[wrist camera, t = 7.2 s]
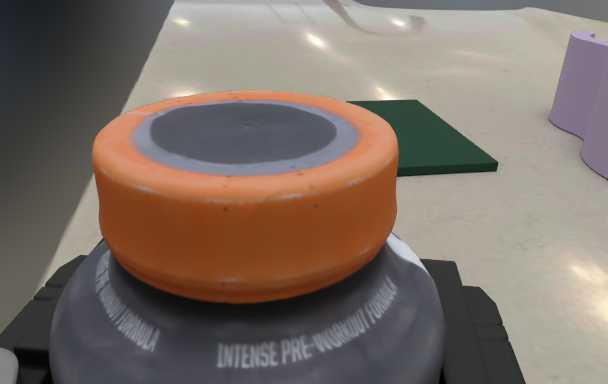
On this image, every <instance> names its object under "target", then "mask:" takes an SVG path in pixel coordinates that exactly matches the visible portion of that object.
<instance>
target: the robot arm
mask: <svg viewBox="0 0 608 384" xmlns="http://www.w3.org/2000/svg"><path fill="white" fill-rule="evenodd" d="M103 241H105V239H104V237H103V238H102V240H101V241H100V242H99V243H98V245H100V244H101V243H102V242H103ZM98 245H97V246H98ZM97 246H96V247H97ZM96 247H95V248H96ZM95 248H94V249H95ZM94 249H93V250H94ZM86 257H87V255H80V256H78V257H76V258H75V259H73V260H71V261H70V262H68V263H66V264H65V265H63V266H61V267H60V268H59V269H58V270H57V271H56V272H55V273H54V274H53V275H52V277H51V278H50V279H49V280H48V281H47V282H46V283H45V287H42V288H41V289H40V290H39V291H38V292H37V294H36V295H35V296H34V299H33V300H30V302H29V303H28V304H27V305H26V306H25V307H24V308H23V310H22V311H21V312H20V313H19V314H18V315H17V316H16V317H15V319H14V320H13V321H12V322H11V323H10V324H9V325H8V326H7V328H6V329H5V330H4V331H3V332H2V333H1V334H0V384H54V383H53V378H52V374H51V369H50V364H49V337H50V329H51V325H52V320H53V315H54V312H55V309H56V306H57V303H58V300H59V298H60V296H61V294H62V292H63V290H64V288H65V286H66V284H67V283H68V281H69V280H70V278H71V276H72V275H73V273H74V272H75V270H76V269H77V268H78V267H79V265H80V264H81V263H82V262H83V261H84V260H85V259H86ZM419 260H420V261H421V263H422V264H423V265H424V267H425V269H426V270H427V272H428V273H429V275H430V277H431V278H432V279H433V280H434V282H435V285H436V288H437V291H438V294H439V298H440V302H441V306H442V310H443V315H444V321H445V327H446V333H445V348H444V355H443V362H442V367H441V372H440V377H439V384H526V383H525V380H524V378H523V375H522V372H521V370H520V367H519V364H518V362H517V359H516V356H515V354H514V351H513V348H512V346H511V343H510V342H509V341H508V335H507V332H506V330H505V327H504V326H503V322H502V319H501V316H500V314H499V311H498V308H497V306H496V303H495V302H494V301H493V300H492V299H491V298H490V297H489V296H488V295H487V294H486V293H485V292H484V291H483V290H482V289H481V288H480V287H473V286H462V282H461V279H460V276H459V272H458V269H457V266H456V263H455V262H454V261H444V260H431V259H419Z"/></svg>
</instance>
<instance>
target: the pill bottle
mask: <svg viewBox="0 0 608 384" xmlns="http://www.w3.org/2000/svg"><path fill="white" fill-rule="evenodd" d="M398 157H399V149H398V142H397V138H396V135H395V132H394V130H393V129H392V127H391V126H390V124H389V123H388V122H386V121H385V120H384V119H382V118H381V117H379V116H378V115H376V114H374V113H373V112H371V111H369V110H367V109H364V108H362V107H360V106H357V105H354V104H351V103H348V102H345V101H341V100H338V99H334V98H329V97H324V96H318V95H312V94H304V93H294V92H282V91H264V90H238V91H227V92H213V93H202V94H196V95H191V96H184V97H176V98H171V99H166V100H163V101H159V102H155V103H152V104H149V105H145V106H141V107H138V108H136V109H133V110H131V111H128V112H126V113H124V114H122V115H121V116H119V117H117V118H116V119H114V120H112V121H111V122H110V123H109V124H107V126H105V127H104V128H103V129H102V130H101V131H100V132H99V133H98V135H97V137H96V139H95V141H94V145H93V149H92V160H93V167H94V173H95V179H96V185H97V191H98V197H99V223H100V229H101V233H102V236H103V237H104V239H105V241H103V242H102V243H101V244H100V245H98V246H97V247H96V248H95V249H94V250H93V251H92V252H91V253H90V254H89V255H88V256H87V257H86V259H85V260H84V261H83V262H82V263H81V264H80V265H79V267H78V268H77V269H76V270H75V272H74V273H73V275H72V276H71V278H70V280H69V281H68V283H67V284H66V286H65V288H64V290H63V292H62V294H61V296H60V298H59V300H58V303H57V306H56V309H55V312H54V315H53V320H52V325H51V329H50V337H49V364H50V369H51V374H52V378H53V383H54V384H439V377H440V372H441V367H442V362H443V355H444V348H445V333H446V327H445V321H444V315H443V310H442V306H441V302H440V298H439V294H438V291H437V288H436V285H435V282H434V280H433V279H432V278H431V277H430V275H429V273H428V272H427V270H426V269H425V267H424V265H423V264H422V263H421V261H420V260H419V258H418V257H417V256H416V255H415V254H414V252H413V251H412V250H411V249H410V248H409V247H408V246H407V245H406V244H405V243H404V242H403V241H402V240H401V239H400V238H399V237H398V236H397V235H395V234H394V233H393V232H391V231H392V228H393V226H394V223H395V219H396V214H397V203H396V177H397V169H398Z"/></svg>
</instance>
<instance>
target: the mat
mask: <svg viewBox="0 0 608 384" xmlns="http://www.w3.org/2000/svg"><path fill="white" fill-rule="evenodd" d="M346 102H348V103H351V104H354V105H357V106H360V107H362V108H364V109H367V110H369V111H371V112H373V113H374V114H376V115H378V116H379V117H381V118H382V119H384V120H385V121H386V122H388V123H389V124H390V126H391V127H392V129H393V130H394V132H395V135H396V138H397V142H398V149H399V157H398V169H397V176H402V175H420V174H439V173H457V172H475V171H494V170H497V167H498V162H497V161H496V160H495V159H493V158H492V157H491V156H490V155H488V154H487V153H486V152H484V151H483V150H482V149H480V148H479V147H478V146H476V145H475V144H474V143H472V142H471V141H470V140H469V139H467V138H466V137H465V136H463V135H462V134H461V133H459V132H458V131H457V130H455V129H454V128H453V127H452V126H450V125H449V124H448V123H446V122H445V121H444V120H442V119H441V118H440V117H438V116H437V115H436V114H435V113H433V112H432V111H431V110H429V109H428V108H427V107H425V106H424V105H423V104H421V103H420V102H419V101H418V100H384V101H346Z"/></svg>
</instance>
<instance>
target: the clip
mask: <svg viewBox="0 0 608 384" xmlns="http://www.w3.org/2000/svg"><path fill="white" fill-rule="evenodd" d="M594 36H595V33H593V32H588V31H574V32H572V33H571V35H570V39H569V43H568V47H567V51H566V55H565V58H564V62H563V66H562V70H561V74H560V78H559V82H558V86H557V90H556V94H555V98H554V102H553V106H552V110H551V114H550V121H551V122H552V123H553V124H554V125H556V126H557V127H559V128H561V129H563V130H566V131H568V132H570V133H573V134H575V135H577V136H579V137H580V138H582V139H583V140H584V143H583V146H582V150H581V156H582V158H583V160H584V161H585V163H586V164H587V165H588V166H589V167H590V168H592V169H593V170H594V171H596V172H597V173H599V174H600V175H602V176H604V177H605V178H607V179H608V42H607V41H602V40H598V39H595V38H594Z"/></svg>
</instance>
